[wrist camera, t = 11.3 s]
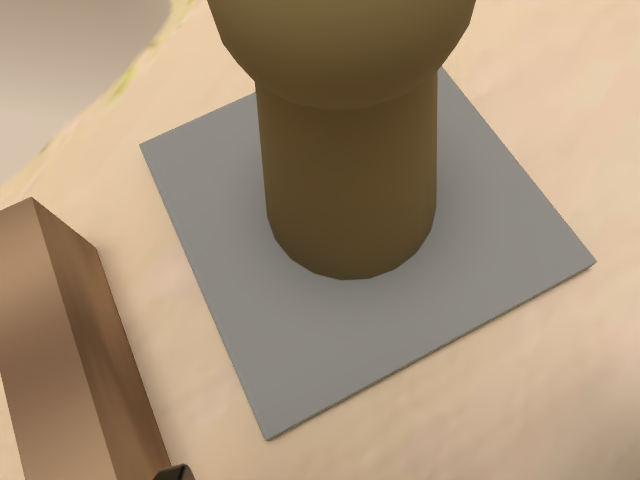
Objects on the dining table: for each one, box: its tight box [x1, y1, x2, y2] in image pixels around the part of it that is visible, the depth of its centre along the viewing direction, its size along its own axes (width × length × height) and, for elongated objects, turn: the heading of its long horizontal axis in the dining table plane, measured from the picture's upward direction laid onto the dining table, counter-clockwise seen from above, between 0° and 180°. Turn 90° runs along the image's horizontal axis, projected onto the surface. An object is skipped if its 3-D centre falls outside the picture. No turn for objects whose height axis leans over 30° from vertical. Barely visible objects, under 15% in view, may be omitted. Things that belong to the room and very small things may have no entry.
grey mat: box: [139, 66, 597, 441], centre depth 19 cm, size 12×12×1 cm
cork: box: [207, 0, 476, 280], centre depth 13 cm, size 6×6×11 cm
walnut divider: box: [0, 197, 171, 480], centre depth 15 cm, size 10×2×4 cm, turn 27°
